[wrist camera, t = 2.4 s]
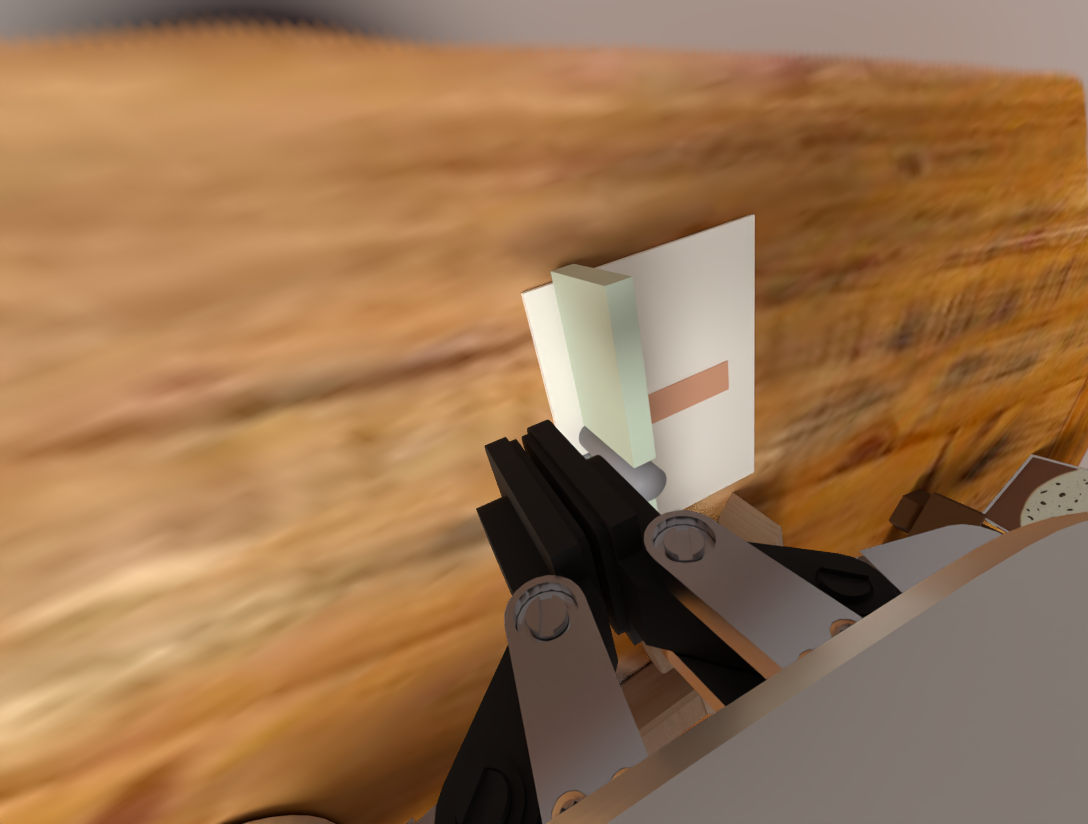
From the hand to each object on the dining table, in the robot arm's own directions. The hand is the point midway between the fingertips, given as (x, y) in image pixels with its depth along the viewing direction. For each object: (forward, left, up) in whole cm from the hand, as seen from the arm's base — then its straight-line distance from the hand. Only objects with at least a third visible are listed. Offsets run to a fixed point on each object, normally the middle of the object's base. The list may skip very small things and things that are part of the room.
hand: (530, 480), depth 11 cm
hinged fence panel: (-2, -7, -11) cm, 13 cm away
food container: (-41, -60, -12) cm, 74 cm away
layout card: (-7, -12, -12) cm, 18 cm away
